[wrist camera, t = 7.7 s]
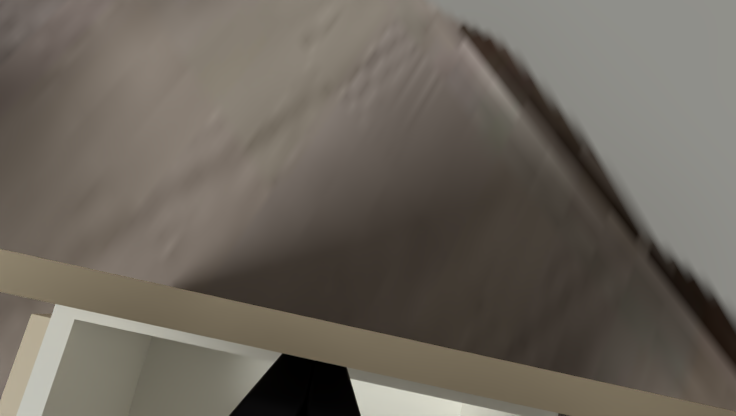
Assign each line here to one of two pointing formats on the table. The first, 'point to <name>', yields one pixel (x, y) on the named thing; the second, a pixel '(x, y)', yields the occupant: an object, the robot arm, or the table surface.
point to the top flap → (329, 341)
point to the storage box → (181, 375)
